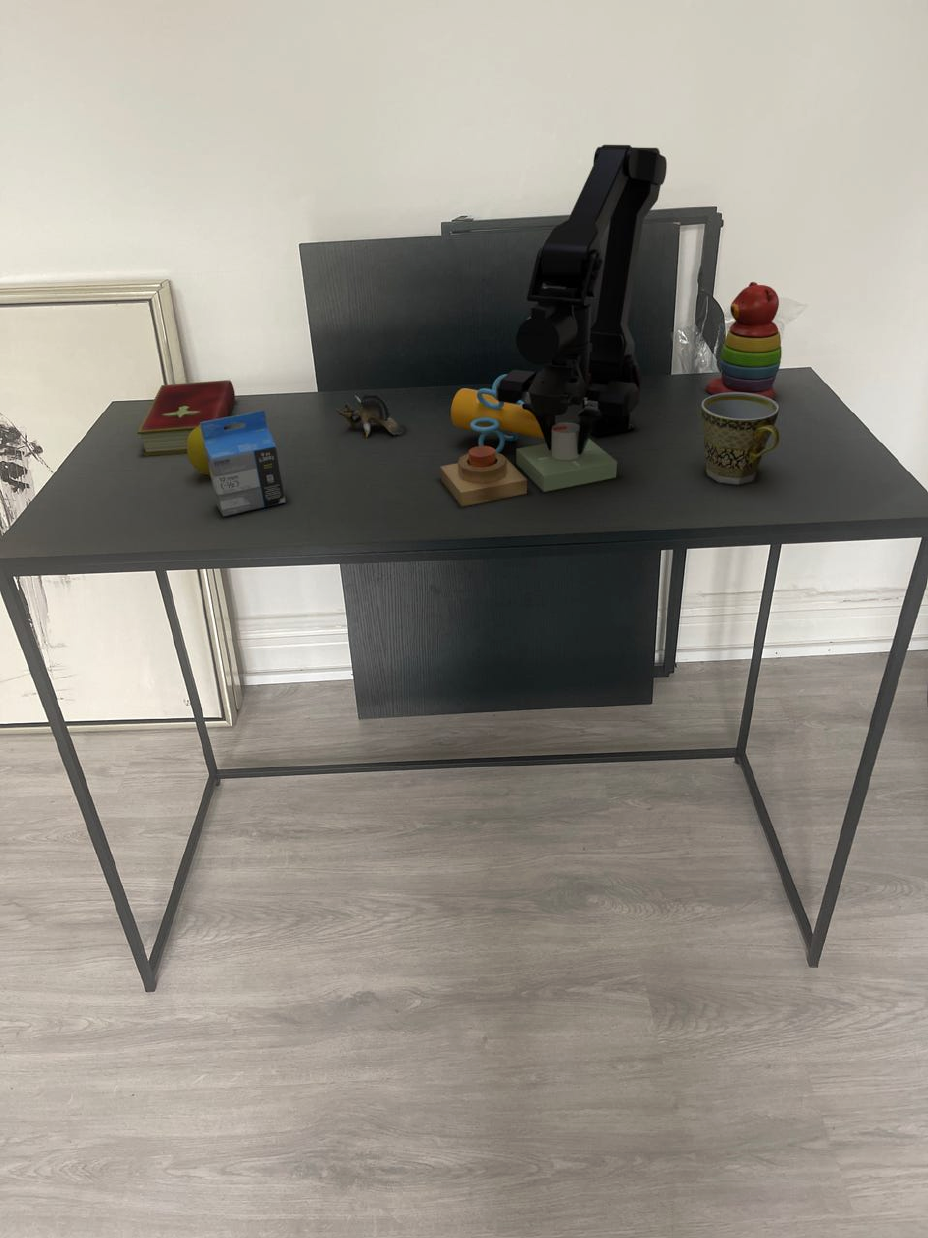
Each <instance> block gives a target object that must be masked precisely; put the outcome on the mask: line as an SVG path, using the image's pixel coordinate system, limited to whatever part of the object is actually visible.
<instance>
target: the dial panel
mask: <svg viewBox="0 0 928 1238" xmlns="http://www.w3.org/2000/svg"><path fill="white" fill-rule="evenodd" d="M515 452H516V466H518V467H519V469H521V471H523V472H524V473H525V474H526V475H527V476H528V478H530V479H531V480H532V482H533V483H534V484H536V486H538V488H540V490H541V491H542V492H543V493H545V492H549V491H551V492H552V491H555V490H560V489H564V488H571V487H575V486H580V485H586V484H589V483H595V482H600V481H604V480H610V479H615V478H617V469H618V461H617V460H616V459H614V457H612V456H611V455H610V454H608V453H607V452H606V451H605V450H604V449H602V448H601V447H600V446H599V445H598V444H596V443H595V442H593V440H592V439H590V438H589V439H588V442H587V444H586V446H585V449H584V451H583V453H582V454H581V455H580V456H579V457H578V458H576V459H573V460H559V459H555V458H554V457H552V450H549V449H548V447H547V444H546V442H545V443H541V444H535V445H530V446H529V445H528V446H524V447H519V448H516V451H515Z"/></svg>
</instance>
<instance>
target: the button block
mask: <svg viewBox="0 0 928 1238" xmlns="http://www.w3.org/2000/svg"><path fill="white" fill-rule="evenodd" d="M439 469H440V471H439V473H440V481H441V482H442V484H443V485H444V487H446V489H447V490H448V491H449V492H450V494H451V495H452V497H453V498H454V499H455V501H457V503H458V504H459V506H461V507H467V506H471V505H477V504H482V503H486V502H491V501H496V500H502V499H507V498H511V497H516V496H521V495H525V494H528V479H527V478H526V477H525V476H524V475H523V474H522V473H521V471H519V470H518V469H517V468H516V467H515V466H514V464H513V463H512V462H510V460H509V459H508V458H507V457H506V456H505V455H503V454H502V453H496V452H495V464H494V465H492V466H488V467H474V466H470V464H469V452H467V453H465V454H464V455H461V456H460V457H459V459H458V462H457V463H451V464H446V465H440V466H439Z"/></svg>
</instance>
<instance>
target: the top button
mask: <svg viewBox="0 0 928 1238" xmlns="http://www.w3.org/2000/svg"><path fill="white" fill-rule="evenodd" d="M495 449H496V448H494V447H492V446H488V445H484V446H479V445H478V446H477V445H476V446H474V447H472V448H470V449H469V450H468V453H469V464H470V466H474V467H488V466H492V465H494V464H495Z"/></svg>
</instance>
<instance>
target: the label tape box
mask: <svg viewBox="0 0 928 1238" xmlns="http://www.w3.org/2000/svg"><path fill="white" fill-rule="evenodd" d="M233 423H236V424H237V425H238V424H244V426H240V427H236V428H235V427H234V428H229V429H226V430H224V427H225V426H226V427H228V426H231V425H232V424H233ZM200 426H201V431H202V435H203V444H204V449H205V453H206V457H207V461H208V466H209V470H210V475H211V476H210V478H211V483H212V488H213V492H214V497H215V501H216V504H217V508H218V510H219V511H220V513H221V515H222V517H228V516H232V515H237V514H240V513H245V512H250V511H253V510H258V509H262V508H266V507H267V508H268V507H271V506H276V505H279V504H283V503H286V495H285V489H284V483H283V479H282V473H281V467H280V461H279V456H278V449H277V446H276V444H275V441H274V439H273V436H272V434H271V432H270V428H269V427H268V424H267V417H266V411H265V410H258V411H252V412H247V413H242V414H237V415H232V416H231V415H230V417H225V418H220V419H215V420H210V421H205V422H200Z"/></svg>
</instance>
